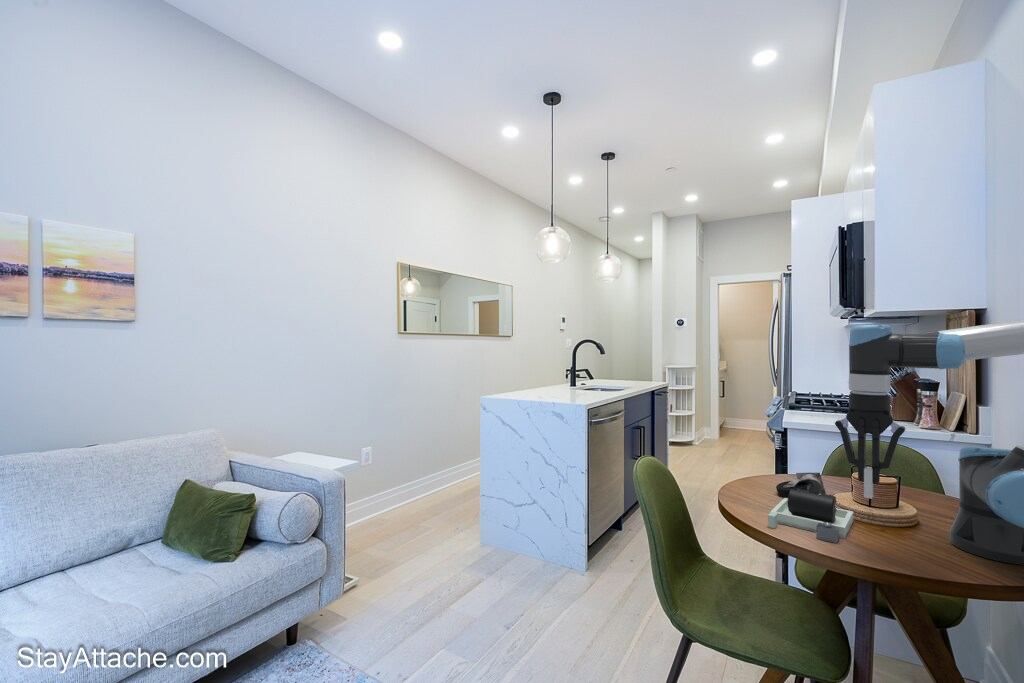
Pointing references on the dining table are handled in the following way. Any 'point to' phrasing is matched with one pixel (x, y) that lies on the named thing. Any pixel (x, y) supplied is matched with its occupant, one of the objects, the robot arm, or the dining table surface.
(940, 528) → the dining table surface
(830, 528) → the block
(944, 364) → the robot arm
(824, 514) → the end cap
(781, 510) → the pale green tray
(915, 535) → the dining table surface
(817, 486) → the caster wheel
